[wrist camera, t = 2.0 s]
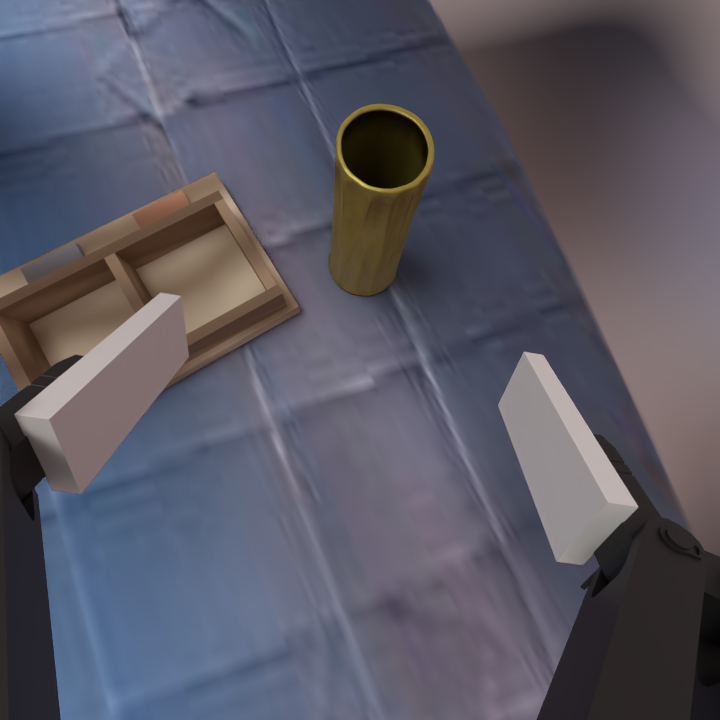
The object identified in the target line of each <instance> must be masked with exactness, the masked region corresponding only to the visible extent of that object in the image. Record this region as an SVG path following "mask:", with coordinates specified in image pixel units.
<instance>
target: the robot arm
mask: <svg viewBox="0 0 720 720" xmlns="http://www.w3.org/2000/svg"><path fill="white" fill-rule="evenodd" d="M188 357H189V353H188V345H187V337H186V329H185V321H184V314H183V306H182V298H181V296H178V295H172V294H166V293H159V294H158V295H157V296H156V297H155V298H153V299H152V300H151V301H150V302H149V303H147V304H146V305H145V306H144V307H143V308H141V309H140V310H139V311H138V312H137V313H135V314H134V315H133V316H132V317H131V318H129V319H128V320H127V321H126V322H125V323H123V324H122V325H121V326H120V327H119V328H117V329H116V330H115V331H114V332H113V333H111V334H110V335H109V336H108V337H107V338H105V339H104V340H103V341H102V342H101V343H99V344H98V345H97V346H96V347H95V348H93V349H92V350H91V351H90V352H89V353H87V354H86V355H85V356H81V355H73V356H71V357H69V358H66V359H64V360H62V361H60V362H58V363H56V364H54V365H53V366H52V367H51V368H49V369H48V370H47V371H46V372H44V373H43V374H42V376H39V377H38V378H37V379H35V380H34V381H33V382H31V385H30V386H29V385H28V386H26V387H25V388H24V389H23V390H21V391H20V392H19V393H17V394H16V395H15V396H14V397H12V398H11V399H10V400H8V401H7V402H6V403H5V404H3V405H2V406H1V407H0V720H61V719H60V709H59V699H58V689H57V679H56V669H55V659H54V649H53V639H52V630H51V620H50V610H49V600H48V590H47V580H46V570H45V560H44V550H43V540H42V530H41V520H40V511H39V501H38V495H37V493H36V491H35V489H34V488H35V486H36V485H37V484H38V483H39V482H40V481H41V480H42V479H43V478H44V477H46V479H47V481H48V483H49V485H50V487H51V489H52V490H55V491H62V492H69V493H76V494H82V493H83V491H84V490H85V489H86V488H87V486H88V485H89V484H90V483H91V481H92V480H93V479H94V477H95V476H96V475H97V474H98V472H99V471H100V470H101V468H102V467H103V466H104V465H105V463H106V462H107V461H108V460H109V458H110V457H111V456H112V454H113V453H114V452H115V451H116V449H117V448H118V447H119V445H120V444H121V443H122V442H123V440H124V439H125V438H126V437H127V435H128V434H129V433H130V431H131V430H132V429H133V428H134V426H135V425H136V424H137V422H138V421H139V420H140V419H141V417H142V416H143V415H144V414H145V412H146V411H147V410H148V408H149V407H150V406H151V405H152V403H153V402H154V401H155V399H156V398H157V397H158V396H159V394H160V393H161V392H162V391H163V389H164V388H165V387H166V385H167V384H168V383H169V382H170V380H171V379H172V378H173V376H174V375H175V374H176V373H177V371H178V370H179V369H180V368H181V366H182V365H183V364H184V362H185V361H186V360H187V359H188ZM498 406H499V409H500V412H501V414H502V417H503V420H504V422H505V425H506V428H507V430H508V433H509V436H510V438H511V441H512V444H513V446H514V449H515V452H516V454H517V457H518V460H519V462H520V465H521V468H522V470H523V473H524V476H525V478H526V481H527V484H528V486H529V489H530V492H531V494H532V497H533V500H534V503H535V505H536V508H537V511H538V513H539V516H540V519H541V521H542V524H543V527H544V529H545V532H546V535H547V537H548V540H549V543H550V545H551V548H552V551H553V553H554V556H555V559H556V561H557V562H564V563H571V564H579V565H583V564H584V563H585V562H586V561H587V560H588V559H589V558H590V557H591V556H592V555H593V554H595V556H596V559H597V561H598V563H599V565H600V567H599V568H598V569H597V570H596V571H595V572H594V573H593V574H592V575H591V576H590V577H589V578H588V579H587V580H586V581H585V582H584V583H583V584H582V585H581V588H582V589H584V590H585V589H586V588H587V587H588V586H589V587H588V590H587V592H586V595H585V597H584V600H583V603H582V605H581V608H580V610H579V613H578V615H577V618H576V620H575V623H574V626H573V628H572V631H571V633H570V636H569V638H568V641H567V643H566V646H565V649H564V651H563V654H562V656H561V659H560V661H559V664H558V666H557V669H556V672H555V674H554V677H553V679H552V682H551V684H550V687H549V690H548V692H547V695H546V697H545V700H544V702H543V705H542V707H541V710H540V713H539V715H538V718H537V720H720V557H719V556H716V555H714V554H711V553H709V552H707V551H704V549H703V548H702V546H701V544H700V543H699V542H698V541H697V539H696V538H695V537H694V536H693V535H692V534H691V533H690V532H688V531H687V530H686V529H684V528H683V527H681V526H680V525H679V524H677V523H675V522H673V521H671V520H669V519H666V518H661V516H660V515H659V513H658V512H657V510H656V509H655V507H654V506H653V504H652V503H651V501H650V500H649V498H648V497H647V495H646V494H645V492H644V491H643V489H642V488H641V486H640V485H639V483H638V482H637V480H636V479H635V477H634V476H632V473H631V471H630V470H629V468H628V467H627V465H625V464H624V461H623V459H622V458H621V456H620V455H619V453H618V452H617V450H616V449H615V448H614V447H613V446H612V445H611V444H610V443H609V442H608V441H607V440H606V439H605V438H604V437H602V436H601V435H596V434H592V432H591V431H590V429H589V427H588V426H587V424H586V423H585V421H584V419H583V418H582V416H581V415H580V413H579V411H578V410H577V408H576V407H575V405H574V403H573V402H572V400H571V399H570V397H569V396H568V394H567V392H566V391H565V389H564V388H563V386H562V384H561V383H560V381H559V380H558V378H557V376H556V375H555V373H554V372H553V370H552V368H551V367H550V365H549V364H548V362H547V360H546V359H545V357H544V356H543V355H540V354H534V353H528V352H523V354H522V357H521V359H520V361H519V363H518V365H517V367H516V369H515V371H514V373H513V375H512V377H511V379H510V382H509V384H508V386H507V388H506V390H505V392H504V394H503V396H502V398H501V400H500V402H499V404H498Z"/></svg>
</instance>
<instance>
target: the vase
mask: <svg viewBox="0 0 720 720" xmlns="http://www.w3.org/2000/svg"><path fill="white" fill-rule="evenodd" d="M433 162H434V143H433V139H432V137H431V134H430V132H429V130H428V128H427V127H426V126H425V124H424V123H423V122H422V120H421V119H420V118H419V117H417V116H416V115H415V114H413V113H411V112H409V111H407V110H405V109H403V108H401V107H398V106H394V105H388V104H372V105H368V106H364V107H362V108H359V109H358V110H356V111H355V112H353V113H352V114H351V115H350V116H348V117H347V118H346V119H345V120H344V122H343V123H342V124H341V126H340V128H339V131H338V134H337V138H336V158H335V180H334V200H333V219H332V236H331V251H330V254H329V268H330V272H331V275H332V277H333V279H334V280H335V282H336V283H337V284H338V285H339V286H340V287H341V288H343V289H344V290H346V291H347V292H349V293H352V294H356V295H363V296H369V295H374V294H377V293H379V292H381V291H383V290H384V289H386V288H387V287H388V286H389V285H390V284H391V283H392V281H393V280H394V278H395V276H396V273H397V268H398V264H399V261H400V258H401V255H402V252H403V248H404V245H405V241H406V238H407V235H408V232H409V228H410V225H411V223H412V220H413V217H414V214H415V211H416V209H417V207H418V204H419V201H420V199H421V196H422V193H423V191H424V188H425V186H426V183H427V181H428V179H429V177H430V174H431V171H432V168H433Z"/></svg>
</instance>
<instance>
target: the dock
mask: <svg viewBox="0 0 720 720" xmlns="http://www.w3.org/2000/svg"><path fill="white" fill-rule="evenodd" d="M159 293H166V294H172V295H178V296H181V298H182V306H183V314H184V321H185V329H186V337H187V345H188V353H189V357H188V359H187V360H186V361H185V362H184V364H183V365H182V366H181V368H180V369H179V370H178V371H177V373H176V374H175V375H174V376H173V378H172V379H171V380H170V382H169V383H168V384H167V385H166V387H165V388H164V389H166V388H168V387H169V386H171V385H173V384H175V383H176V382H178V381H180V380H182V379H183V378H185V377H187V376H189V375H190V374H192V373H194V372H196V371H197V370H199V369H201V368H203V367H204V366H206V365H208V364H210V363H211V362H213V361H215V360H217V359H219V358H220V357H222V356H224V355H226V354H227V353H229V352H231V351H233V350H234V349H236V348H238V347H240V346H241V345H243V344H245V343H247V342H248V341H250V340H252V339H254V338H255V337H257V336H259V335H261V334H262V333H264V332H266V331H268V330H270V329H271V328H273V327H275V326H277V325H278V324H280V323H282V322H284V321H285V320H287V319H289V318H291V317H292V316H294V315H296V314H298V313H299V312H300V309H299V306H298V304H297V303H296V301H295V300H294V298H293V296H292V295H291V293H290V291H289V290H288V288H287V287H286V285H285V283H284V282H283V280H282V279H281V277H280V275H279V274H278V272H277V271H276V269H275V267H274V266H273V264H272V262H271V261H270V259H269V258H268V256H267V254H266V253H265V251H264V250H263V248H262V246H261V245H260V243H259V242H258V240H257V238H256V237H255V235H254V234H253V232H252V230H251V229H250V227H249V225H248V224H247V222H246V221H245V219H244V217H243V216H242V214H241V213H240V211H239V209H238V208H237V206H236V205H235V203H234V201H233V200H232V198H231V197H230V195H229V193H228V192H227V190H226V188H225V187H224V185H223V184H222V182H221V180H220V179H219V177H218V176H217V174H216V172H213V173H211V174H209V175H207V176H205V177H203V178H200V179H198V180H196V181H194V182H192V183H190V184H188V185H186V186H184V187H182V188H180V189H178V190H176V191H174V192H172V193H170V194H167V195H165V196H163V197H161V198H159V199H157V200H155V201H153V202H151V203H149V204H147V205H145V206H143V207H141V208H139V209H136V210H134V211H132V212H130V213H128V214H126V215H124V216H122V217H120V218H118V219H116V220H114V221H112V222H110V223H108V224H106V225H103V226H101V227H99V228H97V229H95V230H93V231H91V232H89V233H87V234H85V235H83V236H81V237H79V238H77V239H75V240H72V241H70V242H68V243H66V244H64V245H62V246H60V247H58V248H56V249H54V250H52V251H50V252H48V253H46V254H44V255H42V256H39V257H37V258H35V259H33V260H31V261H29V262H27V263H25V264H23V265H21V266H19V267H17V268H15V269H13V270H11V271H8V272H6V273H4V274H2V275H0V354H1V356H2V358H3V360H4V361H5V363H6V365H7V367H8V369H9V371H10V373H11V375H12V377H13V379H14V381H15V383H16V385H17V387H18V389H19V391H21V390H23V389H24V388H25V387H26V386H28V385H29V386H30V385H31V382H33V381H34V380H35V379H37V378H38V377H39V376H42V374H43V373H44V372H46V371H47V370H48V369H49V368H51V367H52V366H53V365H54V364H56V363H58V362H60V361H62V360H64V359H66V358H69V357H71V356H73V355H81V356H85V355H86V354H87V353H89V352H90V351H91V350H92V349H93V348H95V347H96V346H97V345H98V344H99V343H101V342H102V341H103V340H104V339H105V338H107V337H108V336H109V335H110V334H111V333H113V332H114V331H115V330H116V329H117V328H119V327H120V326H121V325H122V324H123V323H125V322H126V321H127V320H128V319H129V318H131V317H132V316H133V315H134V314H135V313H137V312H138V311H139V310H140V309H141V308H143V307H144V306H145V305H146V304H147V303H149V302H150V301H151V300H152V299H153V298H155V297H156V296H157V295H158V294H159ZM164 389H163V390H164Z"/></svg>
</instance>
